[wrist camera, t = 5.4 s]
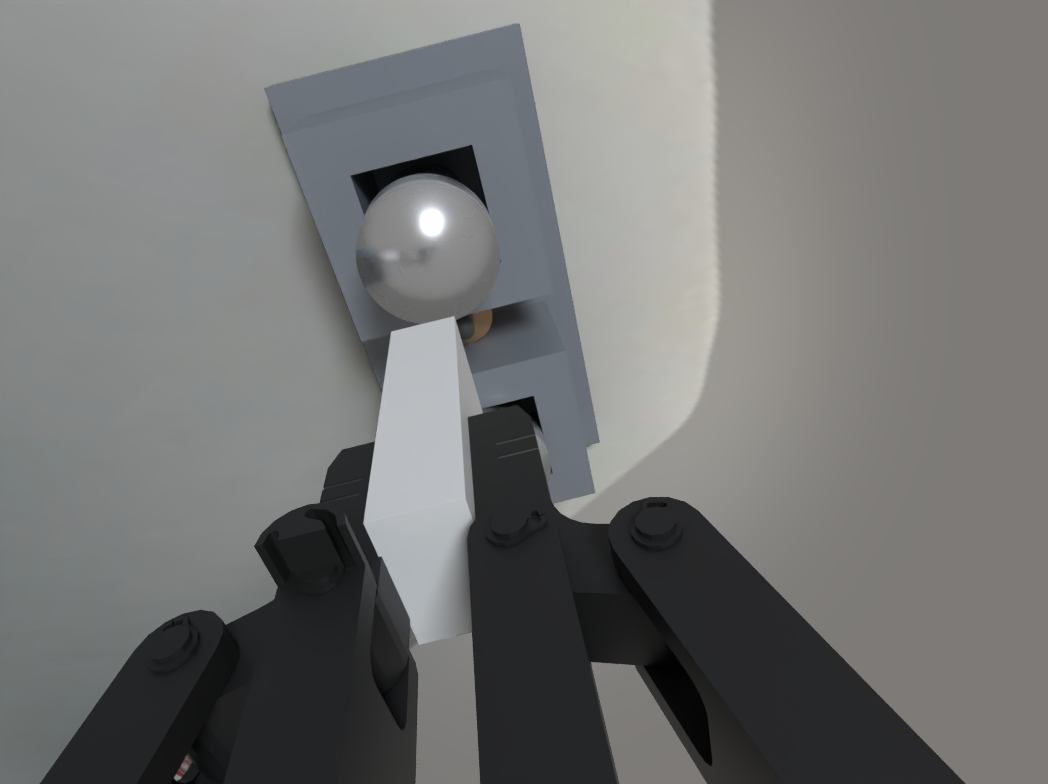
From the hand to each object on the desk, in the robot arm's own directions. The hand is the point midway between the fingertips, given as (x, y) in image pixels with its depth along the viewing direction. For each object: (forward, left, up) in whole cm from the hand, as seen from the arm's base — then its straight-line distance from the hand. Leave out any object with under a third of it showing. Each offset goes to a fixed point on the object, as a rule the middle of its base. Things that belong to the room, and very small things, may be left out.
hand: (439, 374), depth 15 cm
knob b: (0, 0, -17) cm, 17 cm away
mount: (0, -6, -22) cm, 22 cm away
